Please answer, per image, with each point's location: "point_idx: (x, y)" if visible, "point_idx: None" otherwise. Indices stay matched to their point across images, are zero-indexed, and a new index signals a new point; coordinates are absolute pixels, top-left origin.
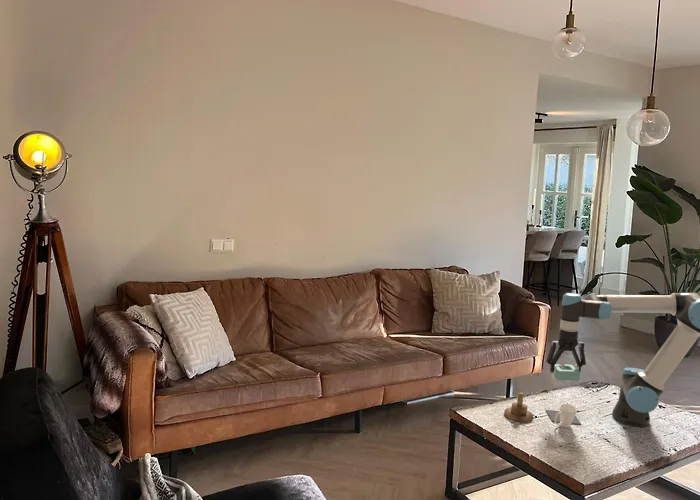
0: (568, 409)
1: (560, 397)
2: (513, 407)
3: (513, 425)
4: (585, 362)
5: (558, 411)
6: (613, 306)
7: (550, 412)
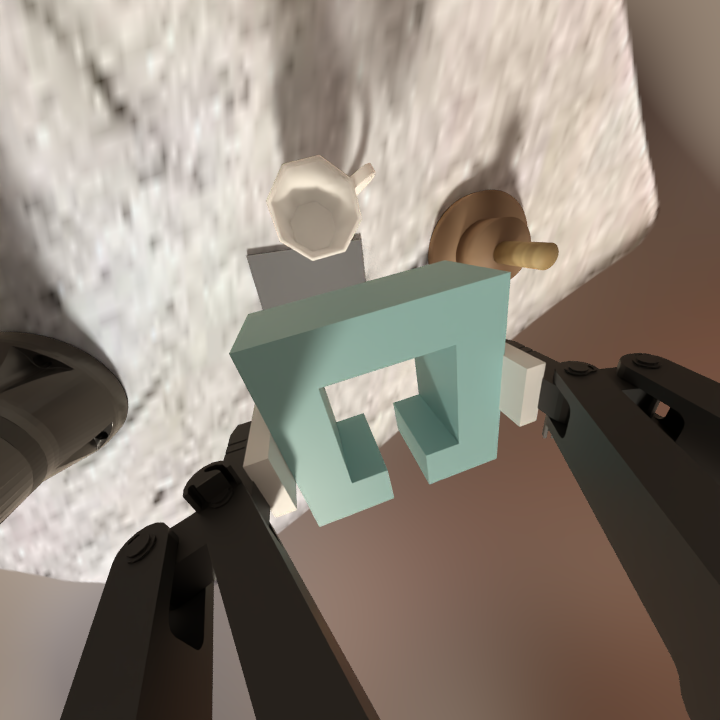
0: (308, 251)
1: None
2: (525, 232)
3: (515, 146)
4: (109, 581)
5: None
6: None
7: None
